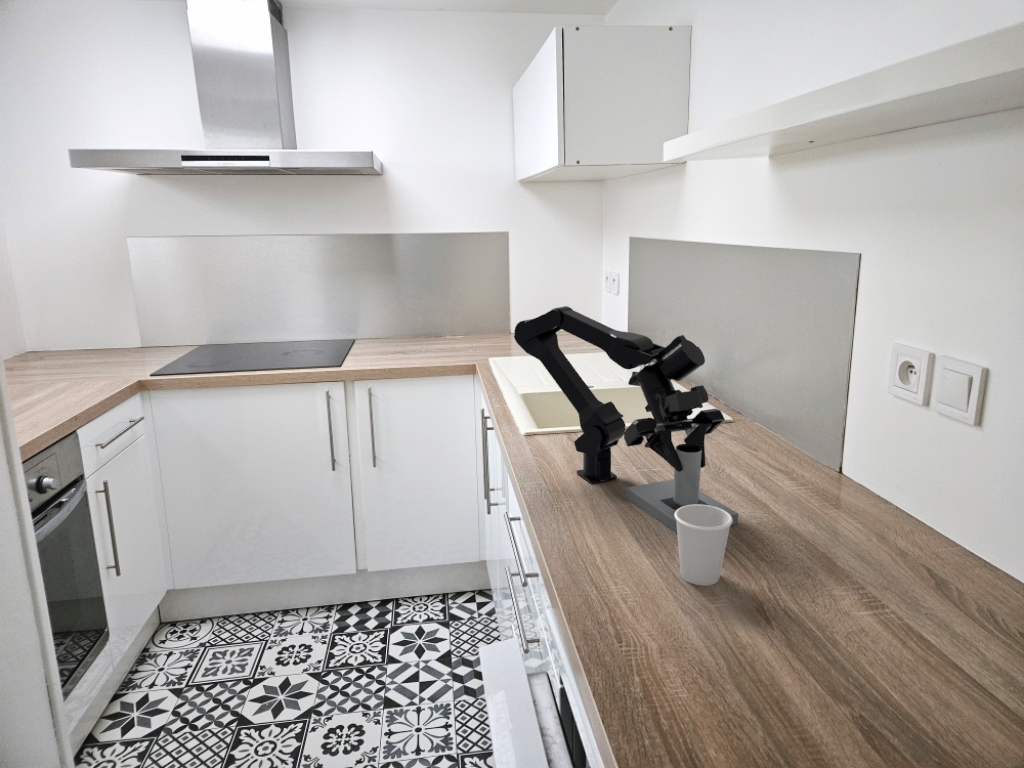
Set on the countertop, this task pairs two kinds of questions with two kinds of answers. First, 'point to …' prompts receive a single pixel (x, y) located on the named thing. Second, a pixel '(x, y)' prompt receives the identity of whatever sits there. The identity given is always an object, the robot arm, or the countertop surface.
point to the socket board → (667, 502)
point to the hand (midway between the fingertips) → (692, 468)
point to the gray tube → (687, 475)
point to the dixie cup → (702, 542)
